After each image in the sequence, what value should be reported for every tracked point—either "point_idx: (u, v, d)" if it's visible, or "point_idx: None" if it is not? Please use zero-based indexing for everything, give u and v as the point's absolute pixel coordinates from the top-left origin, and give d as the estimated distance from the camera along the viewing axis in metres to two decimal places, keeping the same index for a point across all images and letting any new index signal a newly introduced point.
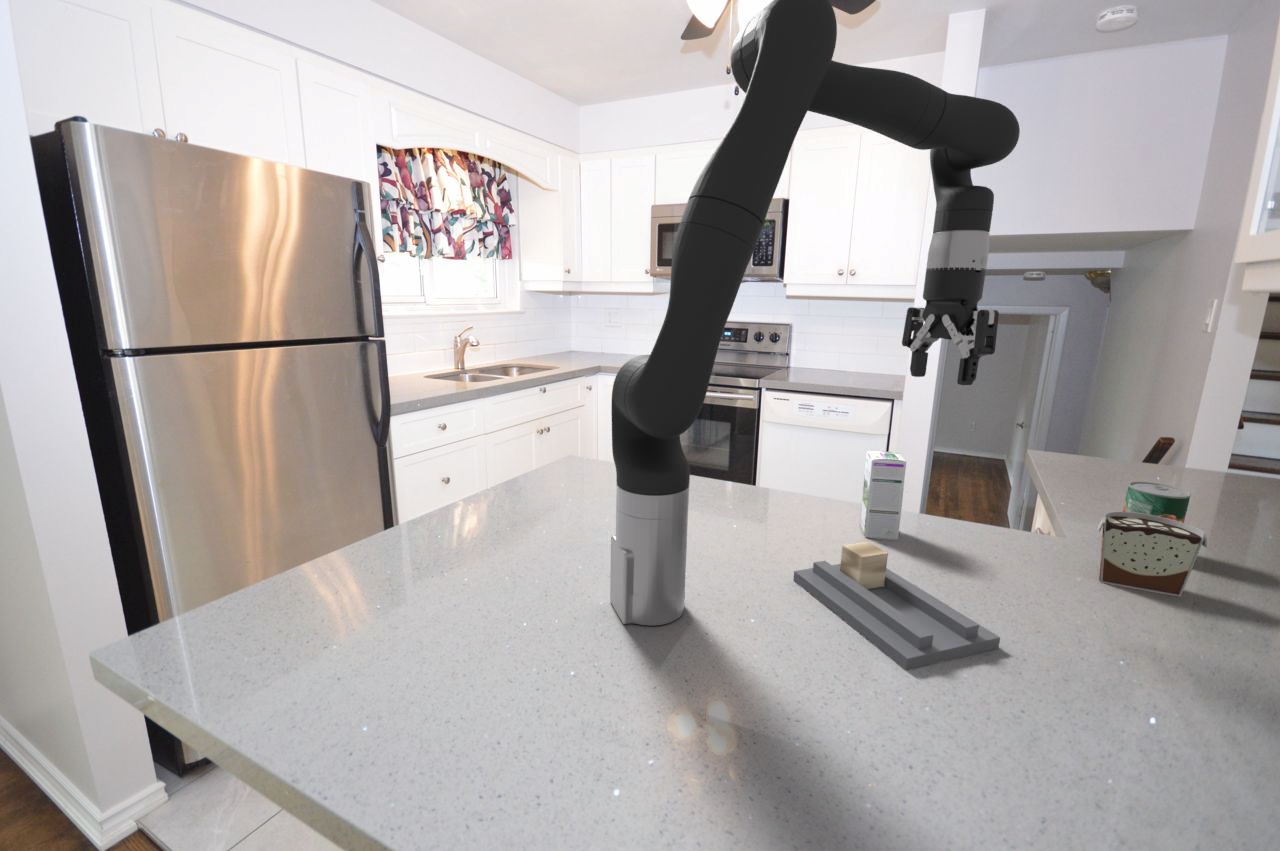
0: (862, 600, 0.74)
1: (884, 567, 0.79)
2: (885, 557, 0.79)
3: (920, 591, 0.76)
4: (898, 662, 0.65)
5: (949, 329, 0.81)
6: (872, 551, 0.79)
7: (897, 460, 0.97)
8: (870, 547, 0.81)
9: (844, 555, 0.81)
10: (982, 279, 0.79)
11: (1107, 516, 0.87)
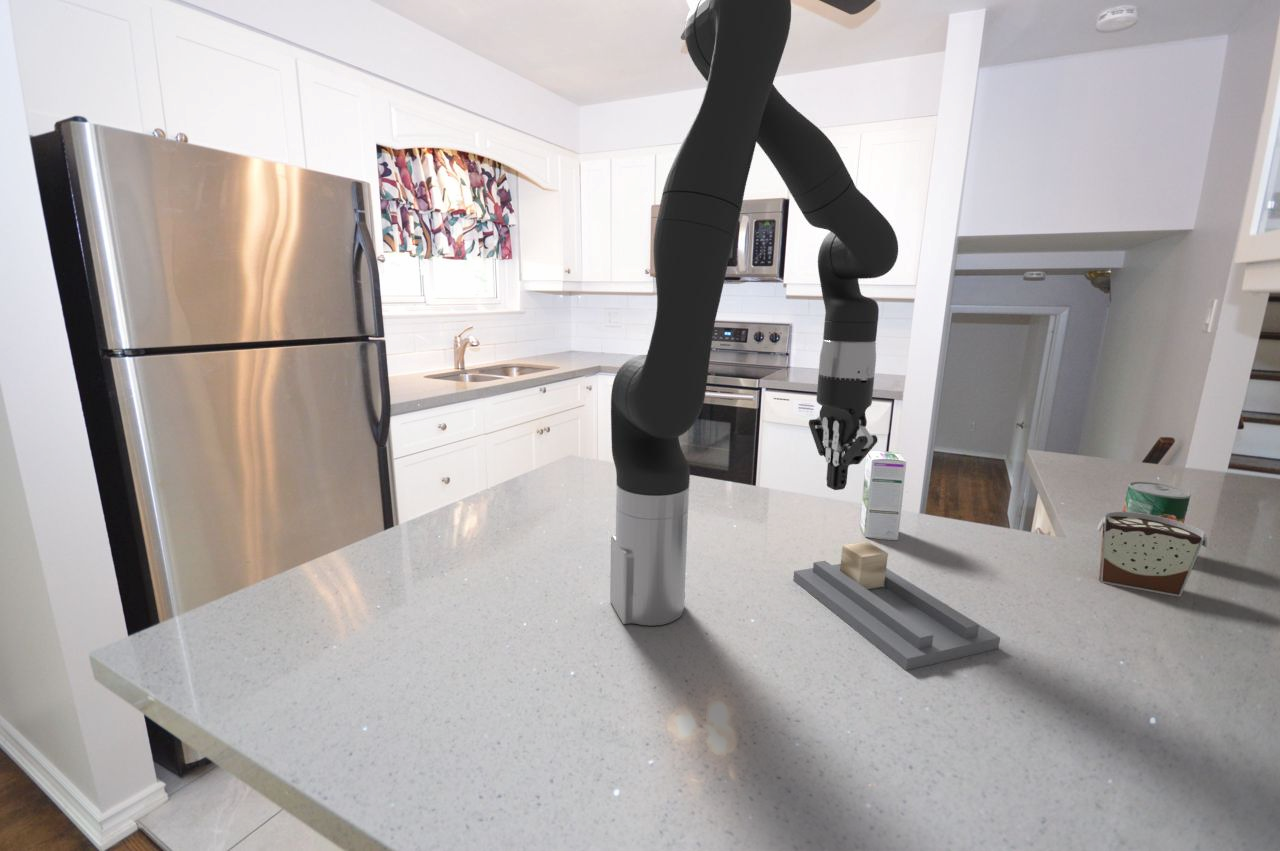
0: (862, 600, 0.74)
1: (884, 567, 0.79)
2: (885, 557, 0.79)
3: (920, 591, 0.76)
4: (898, 662, 0.65)
5: (834, 434, 0.82)
6: (872, 551, 0.79)
7: (897, 460, 0.97)
8: (870, 547, 0.81)
9: (844, 555, 0.81)
10: (869, 388, 0.79)
11: (1107, 516, 0.87)
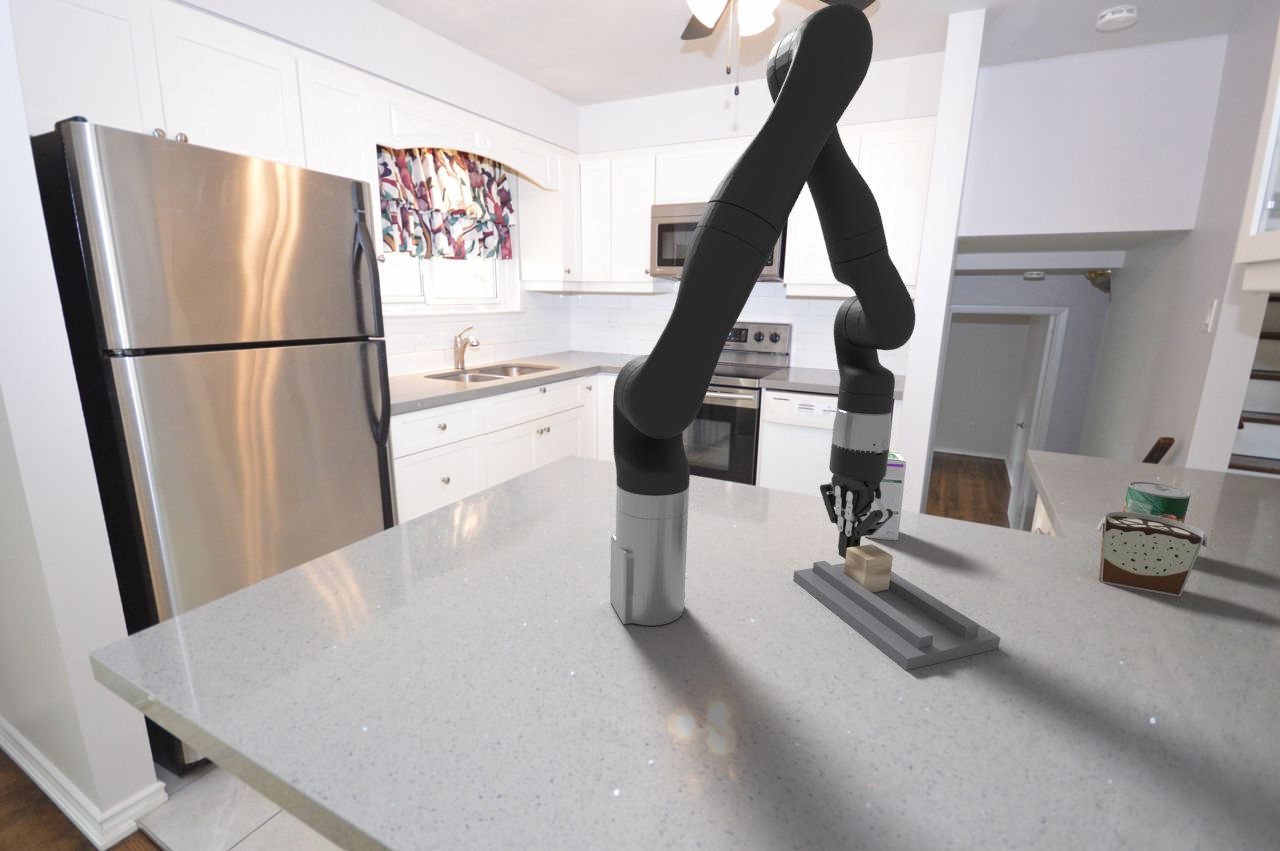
0: (862, 600, 0.74)
1: (889, 570, 0.78)
2: (890, 560, 0.78)
3: (920, 591, 0.76)
4: (898, 662, 0.65)
5: (847, 504, 0.80)
6: (876, 553, 0.79)
7: (897, 460, 0.97)
8: (875, 549, 0.80)
9: (848, 558, 0.80)
10: (884, 460, 0.77)
11: (1107, 516, 0.87)
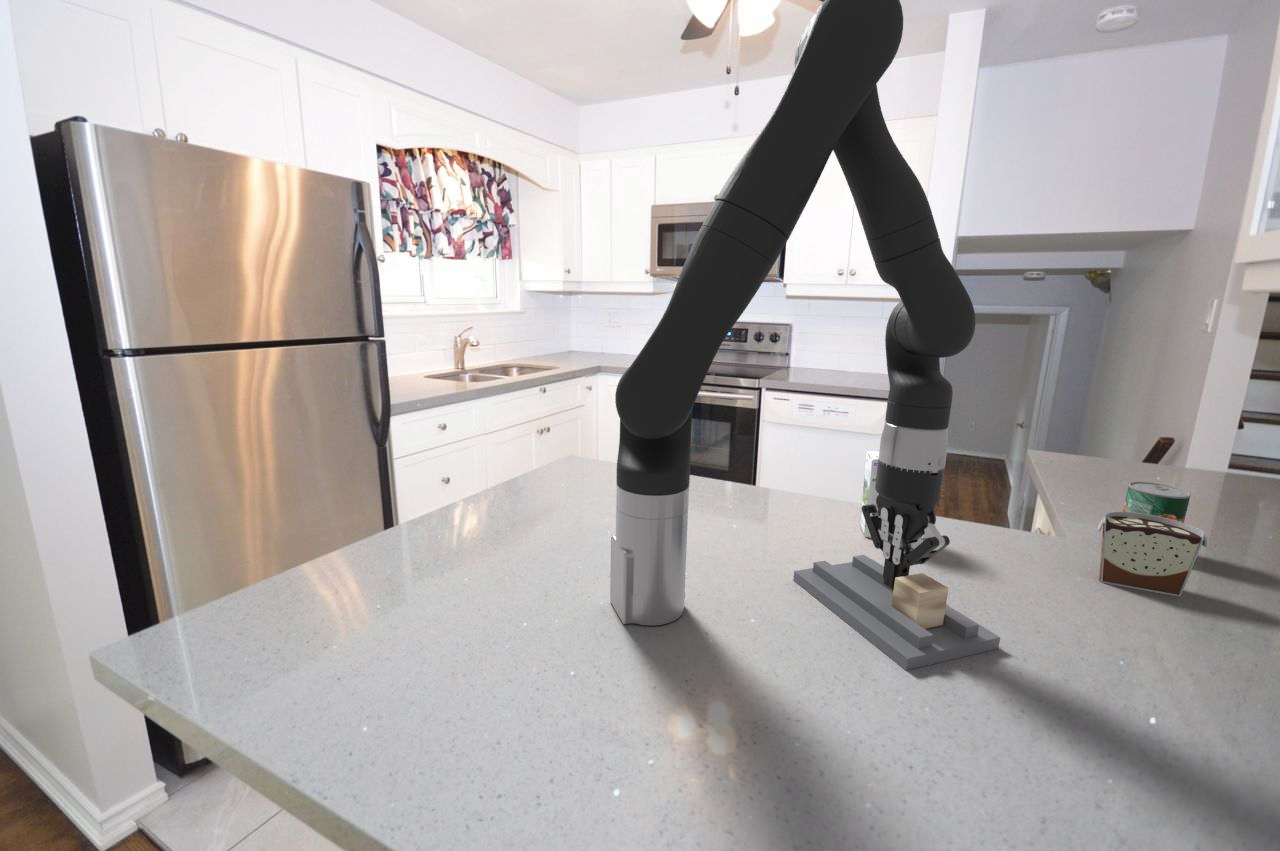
0: (862, 600, 0.74)
1: (944, 603, 0.70)
2: (945, 593, 0.70)
3: None
4: (898, 662, 0.65)
5: (896, 529, 0.72)
6: (930, 585, 0.70)
7: None
8: (927, 580, 0.71)
9: (897, 589, 0.72)
10: (940, 481, 0.69)
11: (1107, 516, 0.87)
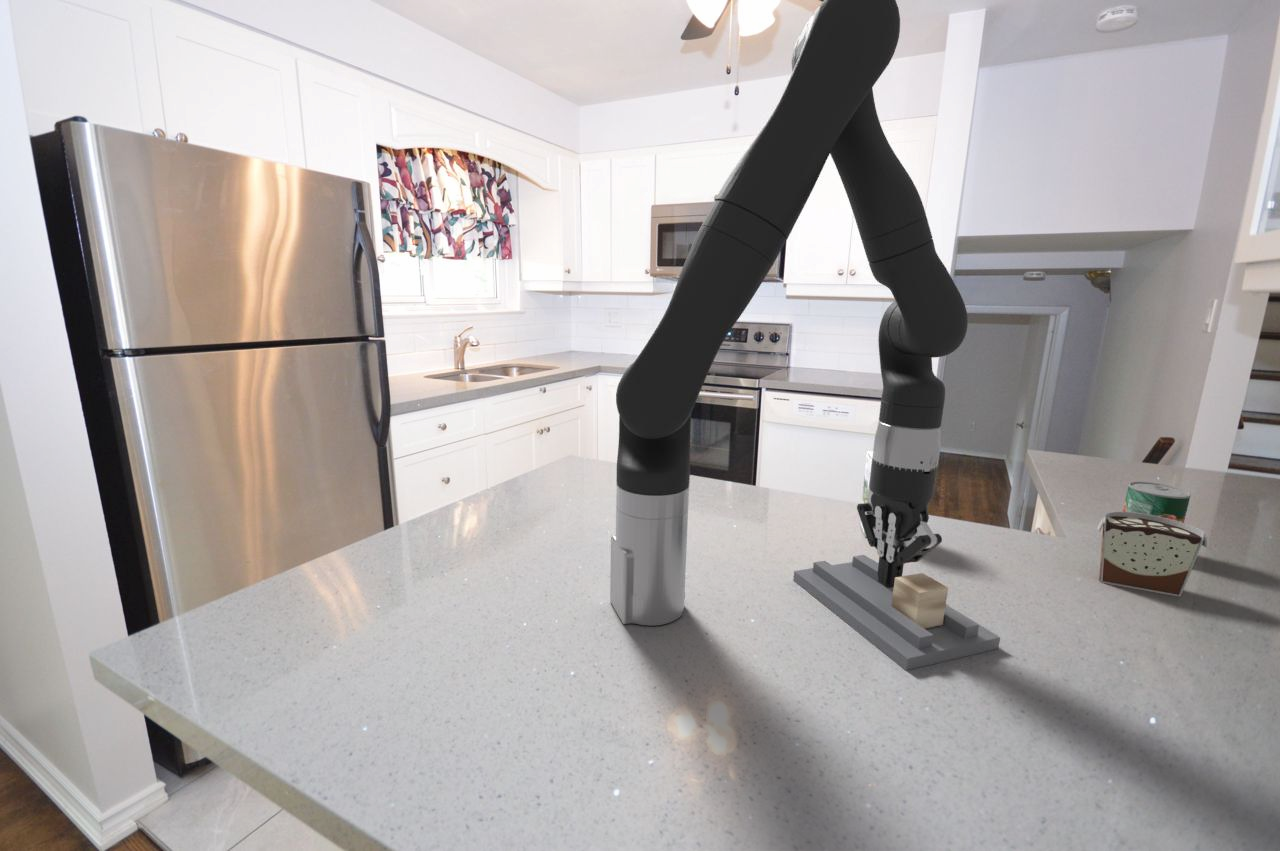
0: (862, 600, 0.74)
1: (943, 603, 0.70)
2: (945, 592, 0.70)
3: None
4: (898, 662, 0.65)
5: (890, 527, 0.73)
6: (929, 585, 0.70)
7: None
8: (927, 580, 0.71)
9: (897, 589, 0.72)
10: (932, 479, 0.69)
11: (1107, 516, 0.87)
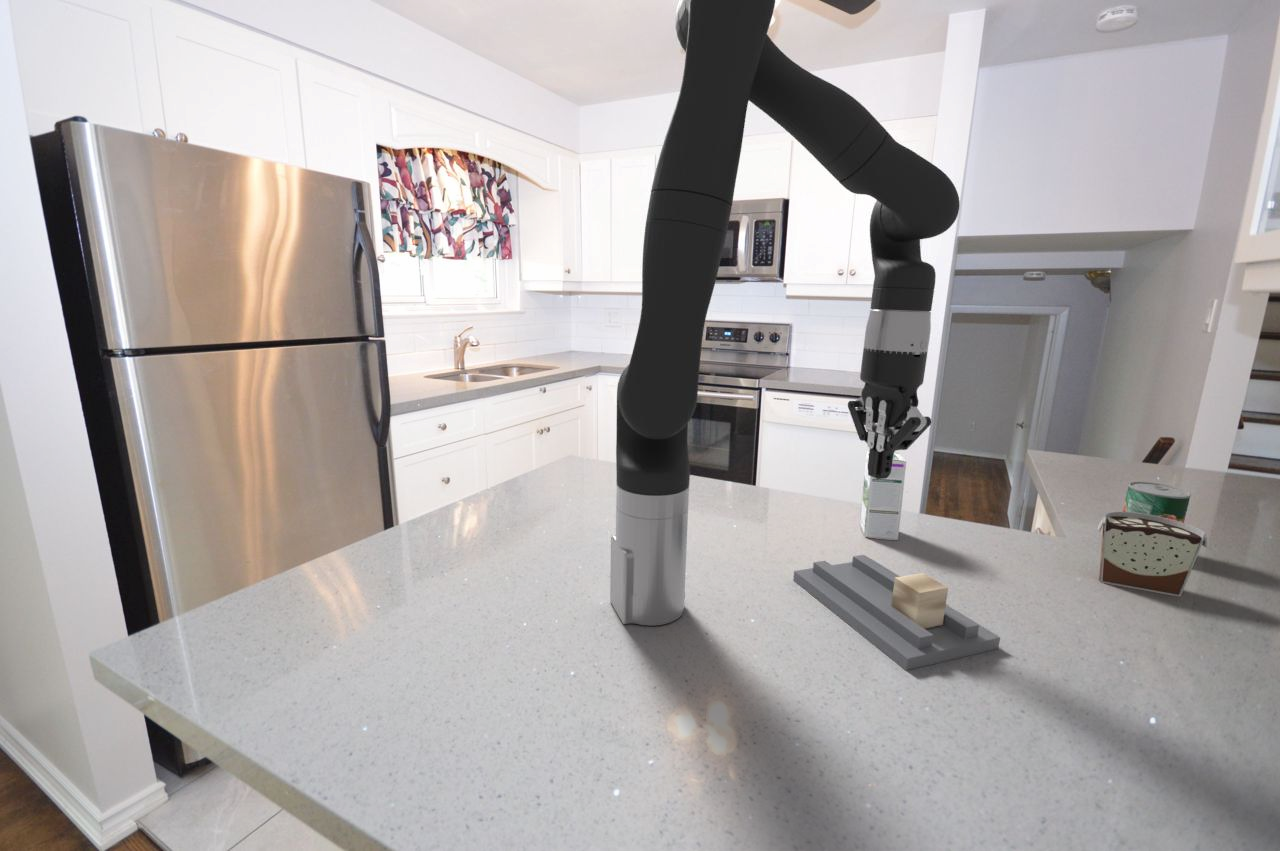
0: (862, 600, 0.74)
1: (943, 603, 0.70)
2: (945, 592, 0.70)
3: None
4: (898, 662, 0.65)
5: (880, 416, 0.74)
6: (929, 585, 0.70)
7: (897, 460, 0.97)
8: (927, 580, 0.71)
9: (897, 589, 0.72)
10: (922, 364, 0.71)
11: (1107, 516, 0.87)
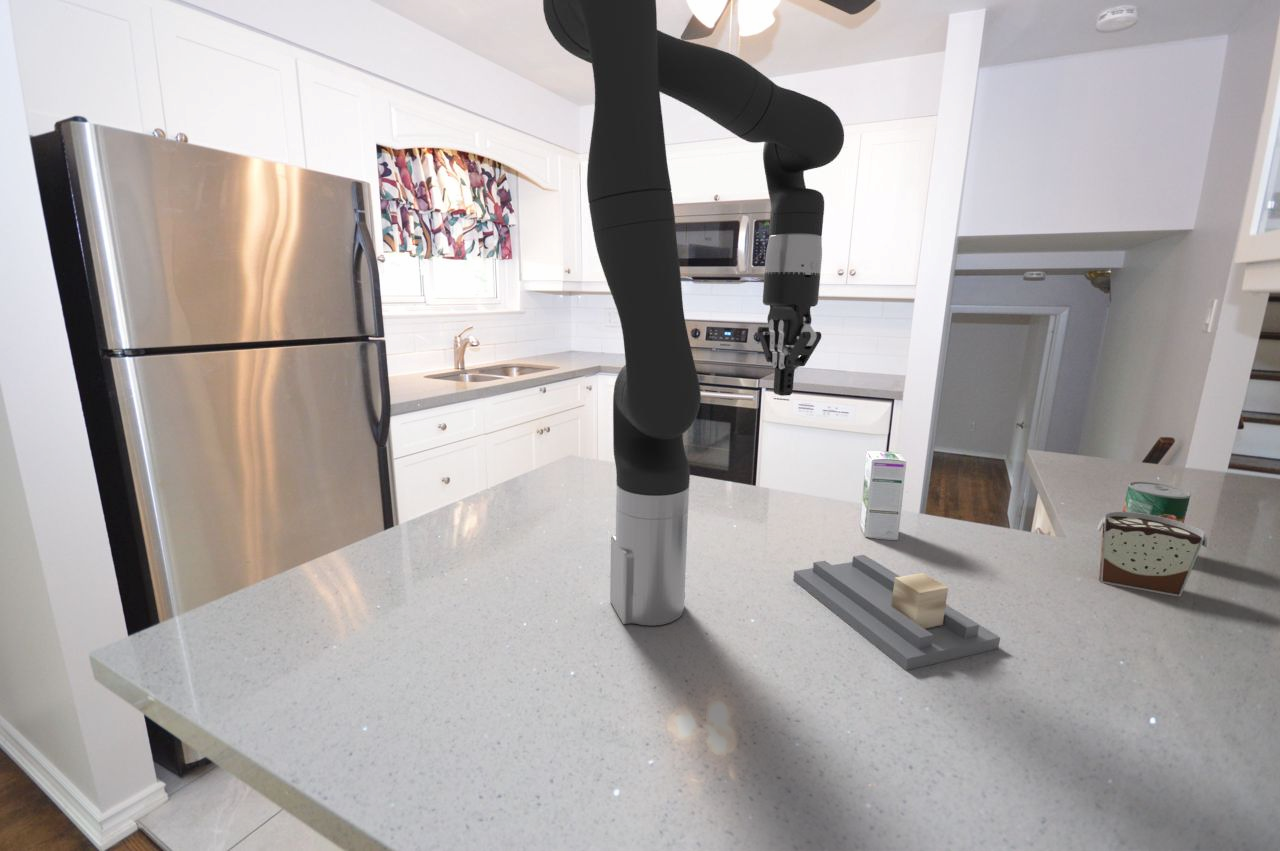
0: (862, 600, 0.74)
1: (943, 603, 0.70)
2: (945, 592, 0.70)
3: None
4: (898, 662, 0.65)
5: (780, 335, 0.80)
6: (929, 585, 0.70)
7: (897, 460, 0.97)
8: (927, 580, 0.71)
9: (897, 589, 0.72)
10: (814, 284, 0.77)
11: (1107, 516, 0.87)
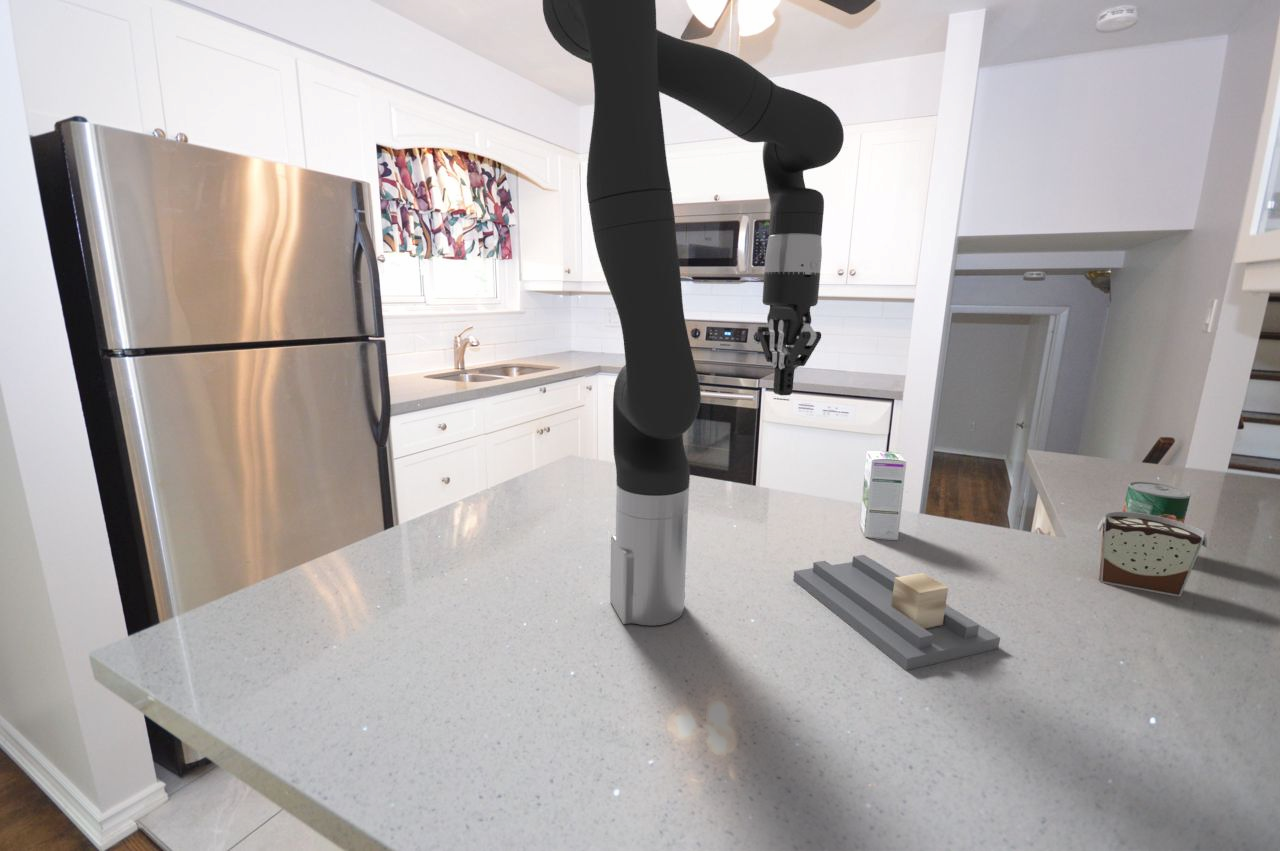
0: (862, 600, 0.74)
1: (943, 603, 0.70)
2: (945, 592, 0.70)
3: None
4: (898, 662, 0.65)
5: (780, 335, 0.80)
6: (929, 585, 0.70)
7: (897, 460, 0.97)
8: (927, 580, 0.71)
9: (897, 589, 0.72)
10: (814, 283, 0.77)
11: (1107, 516, 0.87)
